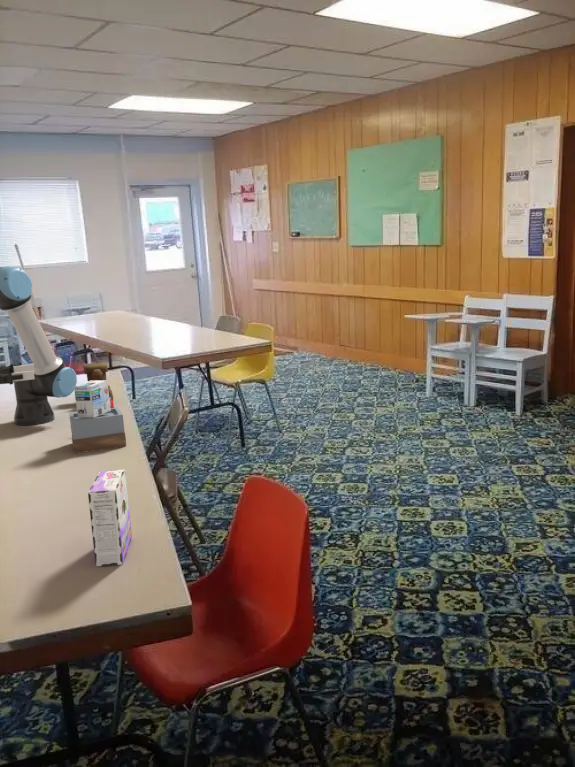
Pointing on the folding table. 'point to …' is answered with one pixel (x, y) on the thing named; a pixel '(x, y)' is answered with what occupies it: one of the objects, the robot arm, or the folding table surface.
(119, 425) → the tower top block
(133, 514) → the folding table surface
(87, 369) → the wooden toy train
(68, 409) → the folding table surface
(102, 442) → the tower base block
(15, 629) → the folding table surface
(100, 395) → the light bulb box
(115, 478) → the candy box
